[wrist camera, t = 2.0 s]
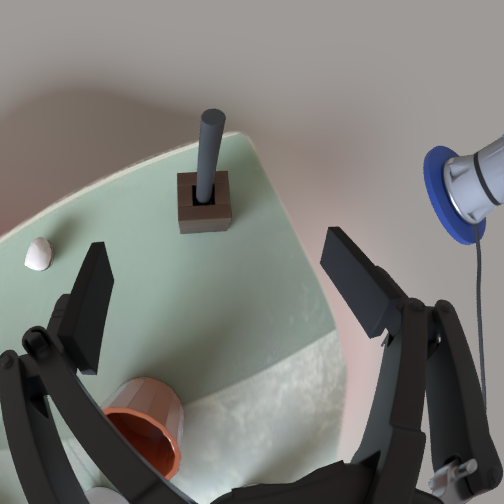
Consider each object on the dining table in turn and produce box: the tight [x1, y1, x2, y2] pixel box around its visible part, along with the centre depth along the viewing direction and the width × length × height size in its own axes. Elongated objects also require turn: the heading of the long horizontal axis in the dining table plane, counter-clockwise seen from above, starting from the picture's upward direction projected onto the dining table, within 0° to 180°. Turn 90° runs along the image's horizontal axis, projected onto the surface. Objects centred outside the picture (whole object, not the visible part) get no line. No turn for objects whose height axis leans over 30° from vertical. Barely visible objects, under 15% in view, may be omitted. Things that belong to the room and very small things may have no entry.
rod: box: [196, 109, 226, 206], centre depth 25 cm, size 2×2×18 cm
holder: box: [177, 171, 232, 234], centre depth 31 cm, size 6×6×5 cm
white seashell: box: [25, 237, 54, 271], centre depth 26 cm, size 4×5×2 cm
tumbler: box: [100, 377, 184, 481], centre depth 22 cm, size 9×9×11 cm
